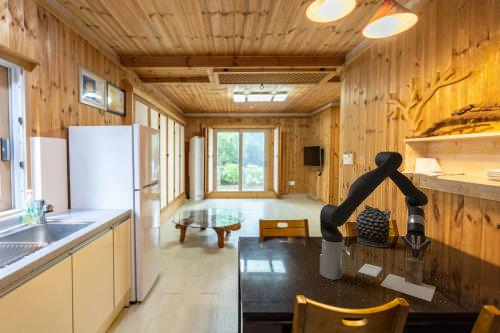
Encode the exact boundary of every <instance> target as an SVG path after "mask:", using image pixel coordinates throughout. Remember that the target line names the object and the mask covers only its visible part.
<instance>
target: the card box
mask: <svg viewBox="0 0 500 333" xmlns="http://www.w3.org/2000/svg"><path fill="white" fill-rule="evenodd" d="M404 260H405V261H404V263H405V264H404V278H405V282H408V283H412V284H415V285H418V286H421V284H422V283H423V267H424V265H423V264H424V262H423V260H421V259H418V258H414V257H413V258H412V257H406V258H405V259H404Z"/></svg>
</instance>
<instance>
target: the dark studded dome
mask: <svg viewBox="0 0 500 333" xmlns="http://www.w3.org/2000/svg"><path fill="white" fill-rule="evenodd" d="M391 213H392V211H391V210H390V209H388V208H385V209H384V210H380V209H379V208H378V207H373V206H369V205H367V204H365V206H364V209H363V210H361V211H360V213H358V215H357V216H356V218H355V220H356V222H355V223H354V225H355V230H356V233H357V237H356V241H357V242H358V243H360V244H361V245H366V246H372V247H377V248H378V247H379V248H386V247H388V245H389V242H388V240H389V237H390V230H391V229H390V228H391V227H390V226H391V225H390V219H391Z"/></svg>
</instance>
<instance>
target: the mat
mask: <svg viewBox="0 0 500 333" xmlns="http://www.w3.org/2000/svg"><path fill="white" fill-rule="evenodd" d="M379 286H381V287H384V288H387V289H390V290H394V291H397V292H400V293H403V294H406V295H409V296H412V297H415V298H418V299H422V300H424V301H428V302H432V300H433V296H434V294H435V291H436V287H437V286H434V285H430V284H427V283H424V282H422V284H421V286H418V285H415V284H412V283H408V282H405V277H402V276H399V275H396V274H392V273H389V274H388V275H387V276H386V277H385V279H384V280H383V282H381V283H380V285H379Z"/></svg>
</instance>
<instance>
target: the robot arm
mask: <svg viewBox="0 0 500 333" xmlns="http://www.w3.org/2000/svg"><path fill="white" fill-rule="evenodd" d="M403 160H404V158H403V155H402V154H401V153H400V152H397V151H380V152H377V154H375V157H374V163H375V165H376V168H375V169H372V170H370V171H368V172H366V173H365V172H364V174H362V175H360V176H359V177H357V178H356V180H354V182H352V183H351V185H350V187H349V190H348V194H347V196H346V198H345V199H344V201H343V202H341V203H340V204H339V205H338V206H337V205H334V204H325V205H324V206H322V208H321V210H320V214H319V229H320V230H319V231H320V234H321V253H320V254H319V275H320V276H322V277H324V278H326V279H327V280H328V279H329V280H333V281H336V280H340V279H342V277H343V243H344V242H343V238H344V237H343V234H342V232H341V231H340V230H339V228H340V227H342V226H343V225H345V224H346V222H348V220H349V219H350V218H351V217H352V215H353V214H354V212H355V211H356V210H357V209H358V208H359V207H360V205H361V204H362V203H363V202H364V201H365V200H366V199H367V198H368V197H369V196H370V195H372V193H374V191H375V190H376V189H377V188H378V187H379V186H380V185H381V184H382V183H383V182H384V181H385V180H386V179H388V178H389V179H390V180H391V181H392V182H393V184H395V185H396V187H397V188H398V189H399V191H400V192H401V193H402V194H403V196H404V202H405V205H406V208H407V221H406V222H407V223H406V224H407V225H406V234H405V236H400V240H401V242H402V243H403V244H404V246H405V247H406V248H407V249H408V250H411V256H412V257H413V259H418V258H420V252H424V251H425V250H426V249H428V248H429V247H430V246H432V241H431V240H429V239H427V237H426V234H425V233H426V222H425V211H424V209H423V208H422V207H423V206H424V207H425V206H427V205H428V204H429V197H428V196H427V194H426V193H424V192H423V191H421V190H420V189H419V188H418V187H416V186H415V184H414V183H413V182H412V180H411V179H410V178H409V177H408V176H406V175H405V174H404V173H402V172H400V170H399V169H400V167H401V166H402V163H403ZM407 240H408V241H407ZM422 244H423V245H422Z"/></svg>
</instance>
